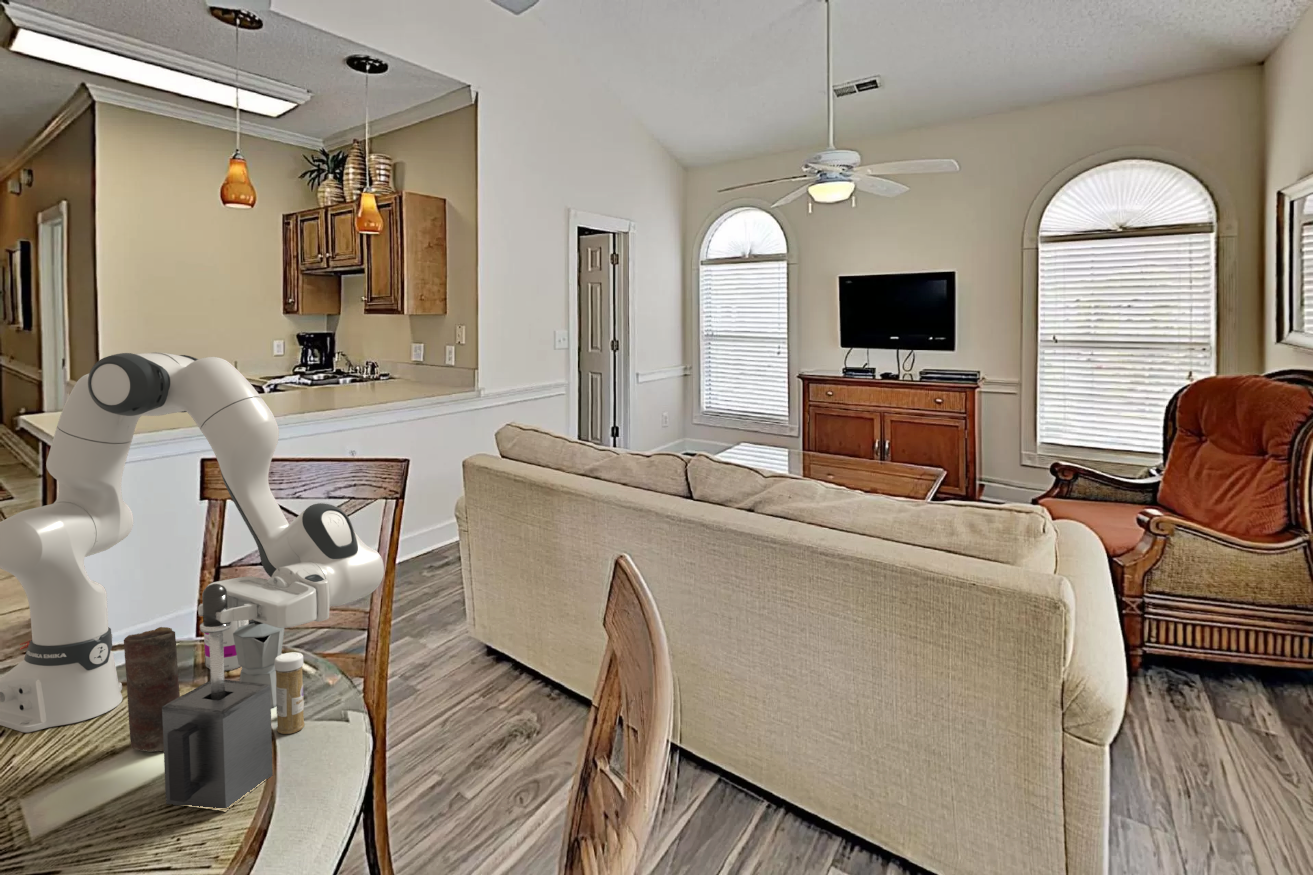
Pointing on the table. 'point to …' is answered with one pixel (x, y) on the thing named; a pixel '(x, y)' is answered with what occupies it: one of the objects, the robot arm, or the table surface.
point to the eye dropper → (215, 636)
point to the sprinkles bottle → (289, 692)
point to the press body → (217, 744)
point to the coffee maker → (259, 653)
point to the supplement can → (226, 646)
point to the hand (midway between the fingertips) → (209, 614)
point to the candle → (150, 684)
